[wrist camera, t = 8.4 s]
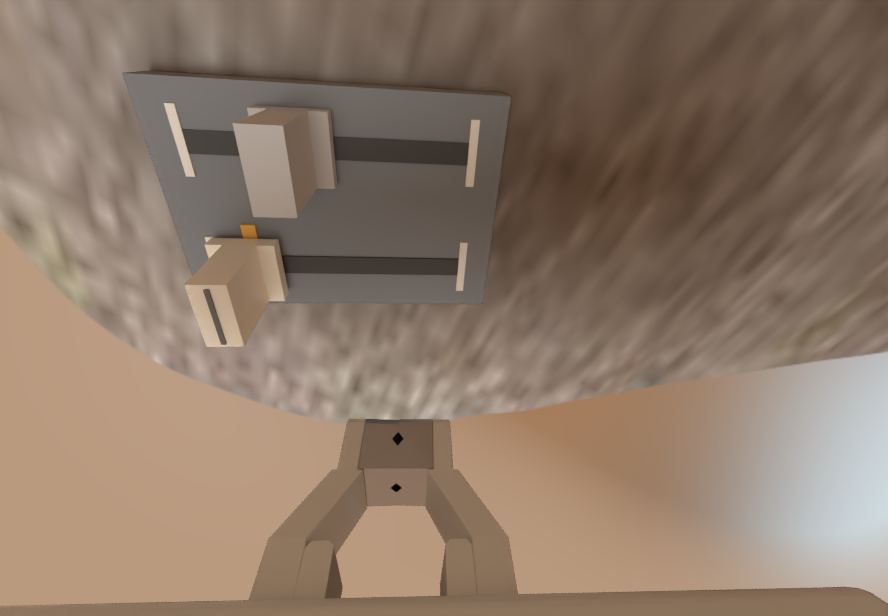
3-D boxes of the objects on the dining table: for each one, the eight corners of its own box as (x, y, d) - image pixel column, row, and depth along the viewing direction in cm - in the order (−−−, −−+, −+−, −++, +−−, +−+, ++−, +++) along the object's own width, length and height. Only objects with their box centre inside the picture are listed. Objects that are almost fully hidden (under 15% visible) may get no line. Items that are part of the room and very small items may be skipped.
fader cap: (278, 239, 19) (246, 286, 16) (288, 293, 21) (262, 347, 17) (211, 237, 19) (161, 285, 15) (227, 292, 21) (186, 348, 17)
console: (501, 92, 19) (541, 110, 13) (477, 287, 25) (498, 355, 19) (149, 70, 17) (26, 80, 12) (215, 284, 23) (155, 358, 18)
